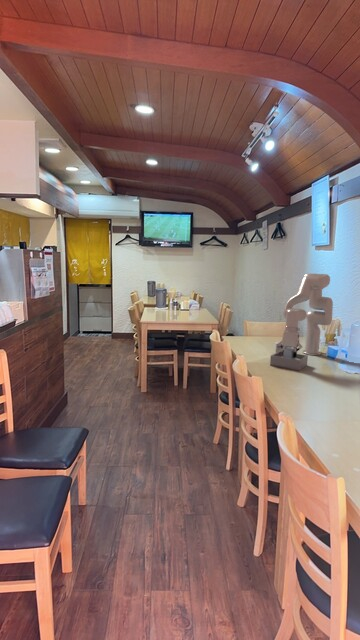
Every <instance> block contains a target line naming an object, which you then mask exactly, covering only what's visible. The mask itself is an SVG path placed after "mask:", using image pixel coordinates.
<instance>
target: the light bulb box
mask: <svg viewBox="0 0 360 640" xmlns="http://www.w3.org/2000/svg"><path fill="white" fill-rule="evenodd" d="M279 342H280V341H275V342H274V354H275V353H277V352H279V351H283V350H282V348H281V347H280V346H279V344H278V343H279ZM286 348H288V347H286ZM290 348H293V347H290Z"/></svg>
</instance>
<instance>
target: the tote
mask: <svg viewBox="0 0 360 640" xmlns="http://www.w3.org/2000/svg"><path fill="white" fill-rule="evenodd" d="M308 358H309V355H308V354H301V353H297V356H296V357H295V359H289V358H284V357H283V351H279V352H277V353H275V352H274V353H273V354H271V355H270V360H269V366H271V367H277V368H282V369H286V370H291V371H296V372H300V371H301V370H303V369H304V368H305V367H307V366H308Z"/></svg>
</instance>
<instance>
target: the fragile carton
mask: <svg viewBox="0 0 360 640" xmlns="http://www.w3.org/2000/svg"><path fill="white" fill-rule="evenodd" d="M293 353H294V348H293V347H292V348H290V347H288V348H286V349H284V352H283V357H284V358H289V359H295V358H293Z"/></svg>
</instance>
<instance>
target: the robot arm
mask: <svg viewBox="0 0 360 640" xmlns="http://www.w3.org/2000/svg"><path fill="white" fill-rule="evenodd" d="M330 282H331V277H330V275H329V274H327V273H306V274H304V276H303V278H302V280H301V282H300V285H299V287H298V291H297V293H296V294H295V295H293V296H292V297H291V298H290V299H289V300H288V301H287V302H286V304H285V306H284V310H283V317H284V319H285V330H284V331H283V335H282V339H281V340H280V341H278V342H279V343H278V344H279V346H280V347H281V348H282V350H283V352H284V349H286V347H292V348H294V353H293V358H295V357H296V356H297V354H298V351H300V350H301V349H302V348H303V345H302V344H301V343H300V332H299V331H301V330H300V328H299V322H301V321H305V319H306V333H305V334H306V335H305V345H304V350H302V354H303V355H307V356H320V355H321V353H322V352H321V351H320V350H319V349H320V342H321V341H320V339H321V329H320V326H330V325H331V324H332V321H333V310H334V309H333V308H334V307H333V304H334V303H333V300H332V298H331V297H328V296H323V290H324V289H325V288H327V287H328V286H329V285H330ZM307 301H308V307H309V308H310V311H308V312H307V311H306V310H305V309H302V308H293V307H295V306H296V305H298V304H300V303H304V302H307Z"/></svg>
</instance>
